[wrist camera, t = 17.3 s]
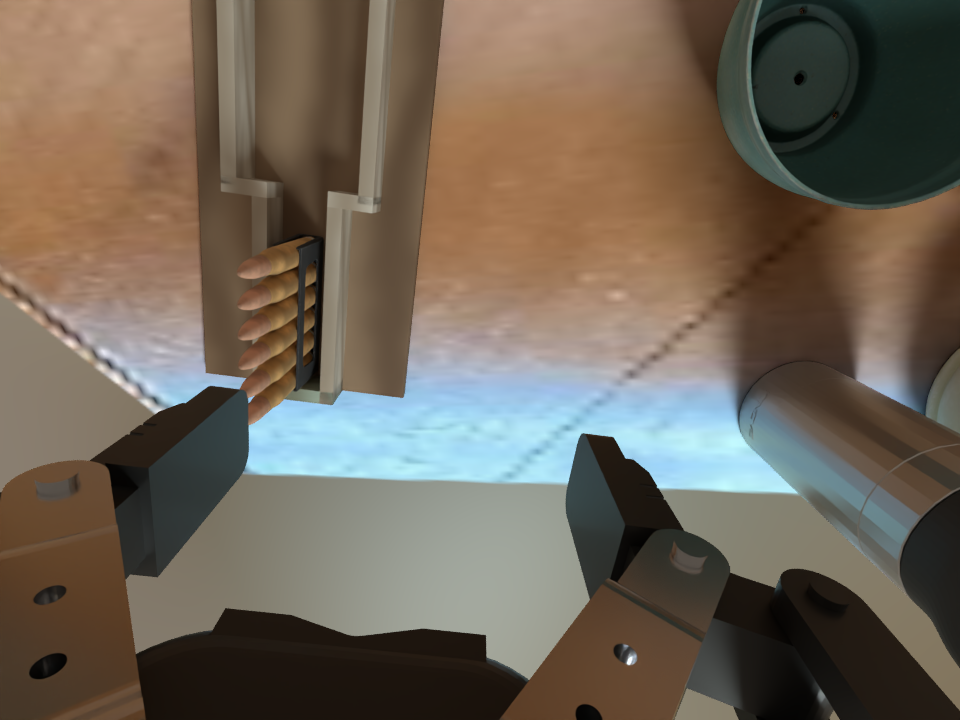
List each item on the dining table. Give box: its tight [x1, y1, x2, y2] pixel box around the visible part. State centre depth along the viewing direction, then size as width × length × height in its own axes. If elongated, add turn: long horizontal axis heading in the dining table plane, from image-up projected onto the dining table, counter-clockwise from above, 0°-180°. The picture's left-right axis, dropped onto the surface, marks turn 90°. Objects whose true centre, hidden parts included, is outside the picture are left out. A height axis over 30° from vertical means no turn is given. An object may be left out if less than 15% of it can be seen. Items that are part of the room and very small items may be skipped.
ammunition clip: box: [237, 233, 324, 425], centre depth 33 cm, size 11×2×12 cm, turn 172°
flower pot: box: [717, 0, 960, 210], centre depth 30 cm, size 16×16×11 cm
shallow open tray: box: [192, 0, 444, 405], centre depth 35 cm, size 16×30×4 cm, turn 172°
